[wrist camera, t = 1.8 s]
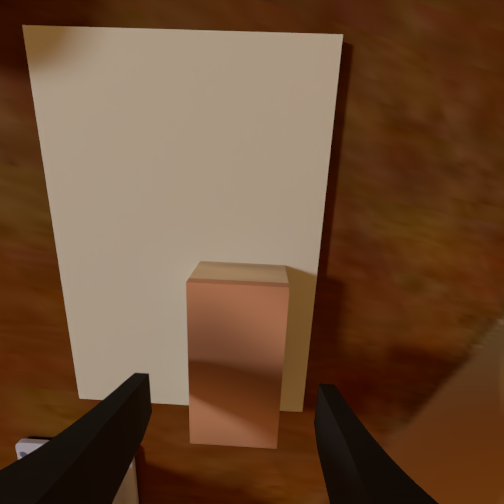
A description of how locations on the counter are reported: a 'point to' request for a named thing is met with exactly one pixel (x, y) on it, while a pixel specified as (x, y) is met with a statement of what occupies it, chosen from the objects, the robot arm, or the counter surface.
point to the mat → (179, 183)
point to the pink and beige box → (236, 352)
